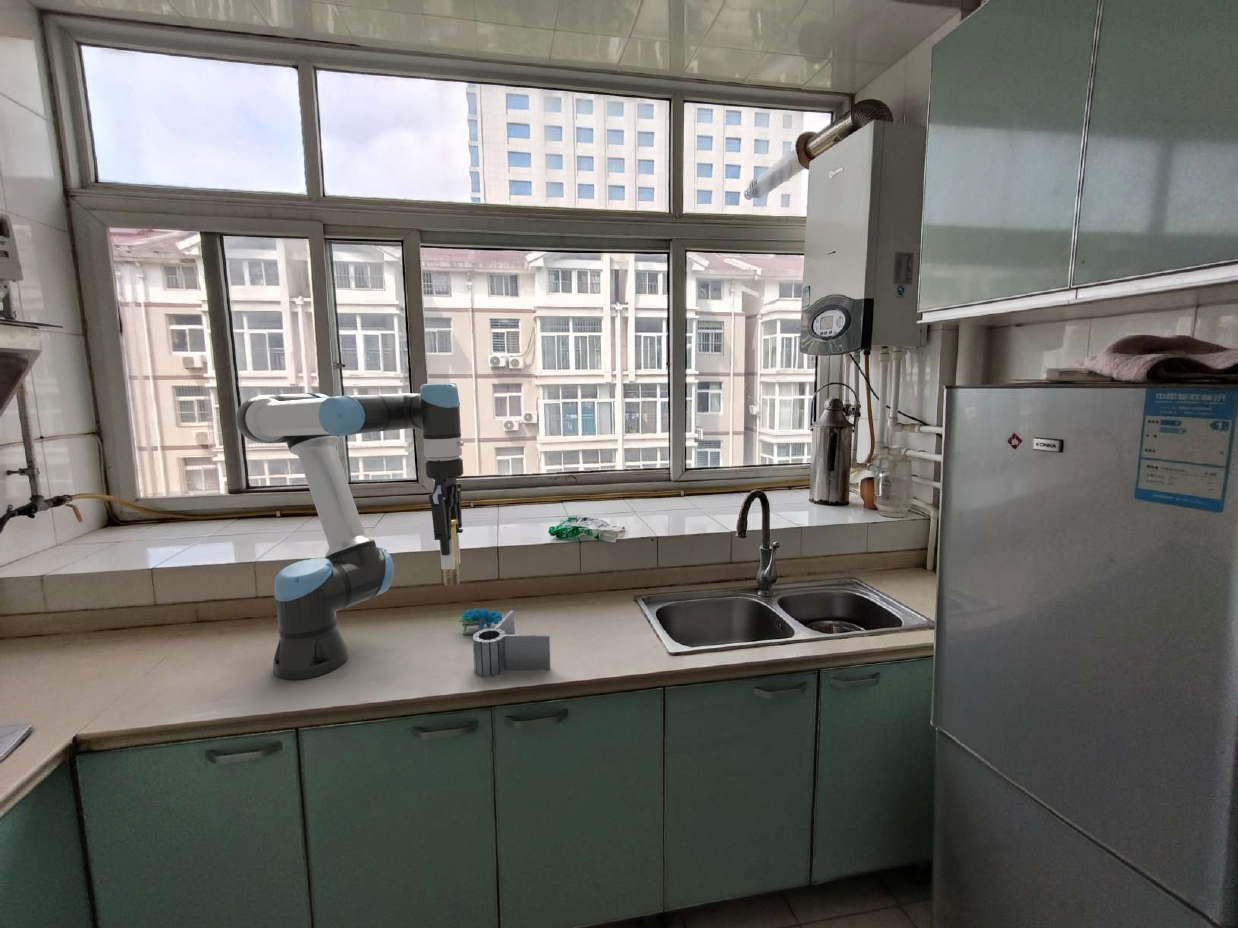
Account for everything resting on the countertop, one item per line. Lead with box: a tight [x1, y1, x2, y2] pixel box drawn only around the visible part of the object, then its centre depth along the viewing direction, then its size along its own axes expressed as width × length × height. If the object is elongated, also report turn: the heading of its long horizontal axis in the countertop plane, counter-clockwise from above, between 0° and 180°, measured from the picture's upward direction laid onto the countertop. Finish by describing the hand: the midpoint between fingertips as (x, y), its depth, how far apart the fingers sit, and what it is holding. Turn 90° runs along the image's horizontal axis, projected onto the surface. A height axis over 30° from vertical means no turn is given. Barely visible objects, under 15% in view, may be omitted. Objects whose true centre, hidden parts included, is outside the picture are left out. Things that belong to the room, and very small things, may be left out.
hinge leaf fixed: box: [472, 627, 551, 678], centre depth 129 cm, size 17×7×8 cm, turn 89°
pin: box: [443, 518, 460, 587], centre depth 123 cm, size 4×4×14 cm
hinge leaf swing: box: [494, 610, 516, 634], centre depth 138 cm, size 10×1×8 cm, turn 169°
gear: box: [459, 607, 503, 636], centre depth 148 cm, size 11×6×10 cm
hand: (451, 565), depth 124 cm, fingers closed on pin, 3 cm apart
